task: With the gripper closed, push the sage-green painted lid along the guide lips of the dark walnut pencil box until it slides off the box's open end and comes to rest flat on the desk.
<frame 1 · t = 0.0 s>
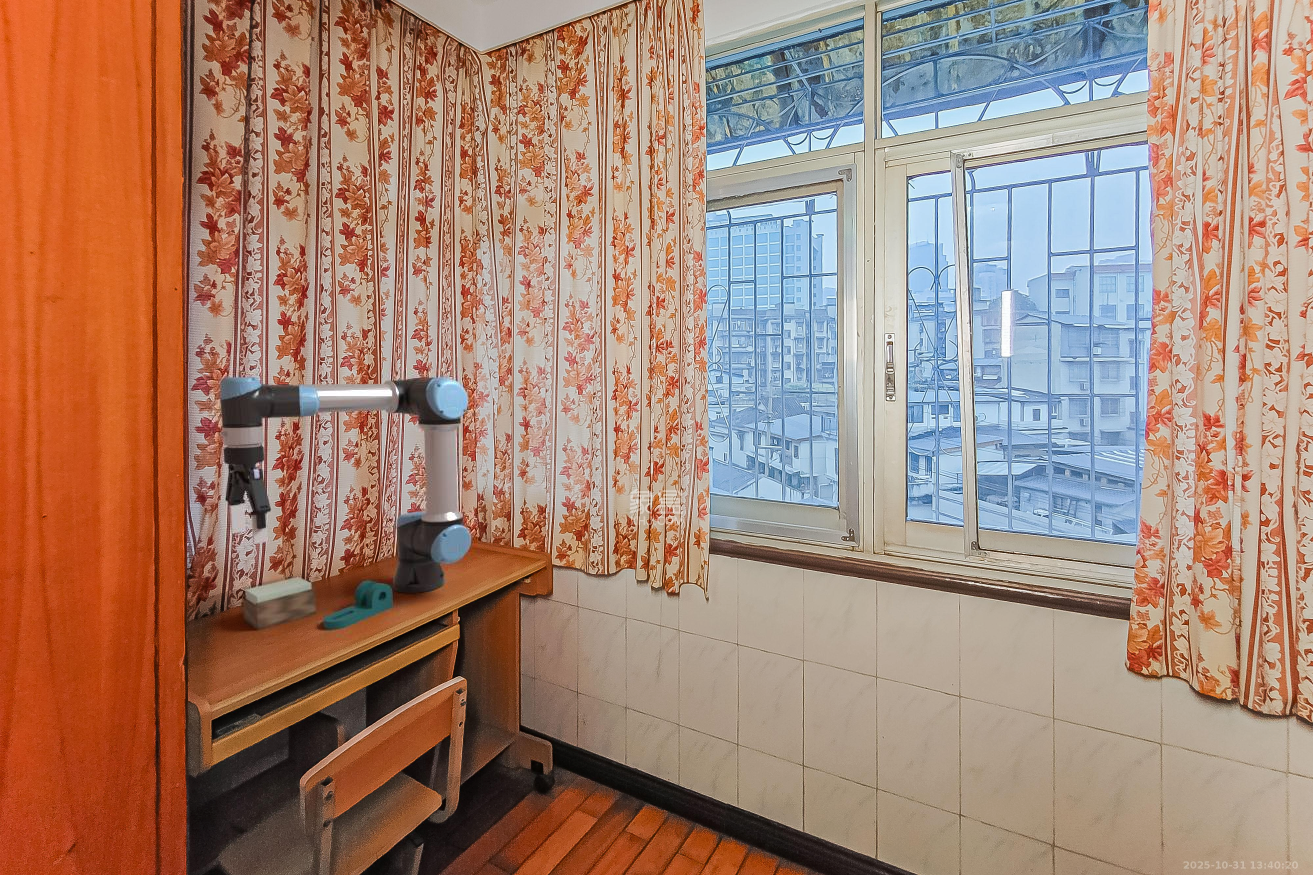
hand: (249, 537, 138), 28 cm above the table, fingers open, 13 cm apart
box: (280, 616, 162), on the table
lid: (279, 595, 161), point 6 cm above the table, touching box
bracket: (356, 618, 163), on the table
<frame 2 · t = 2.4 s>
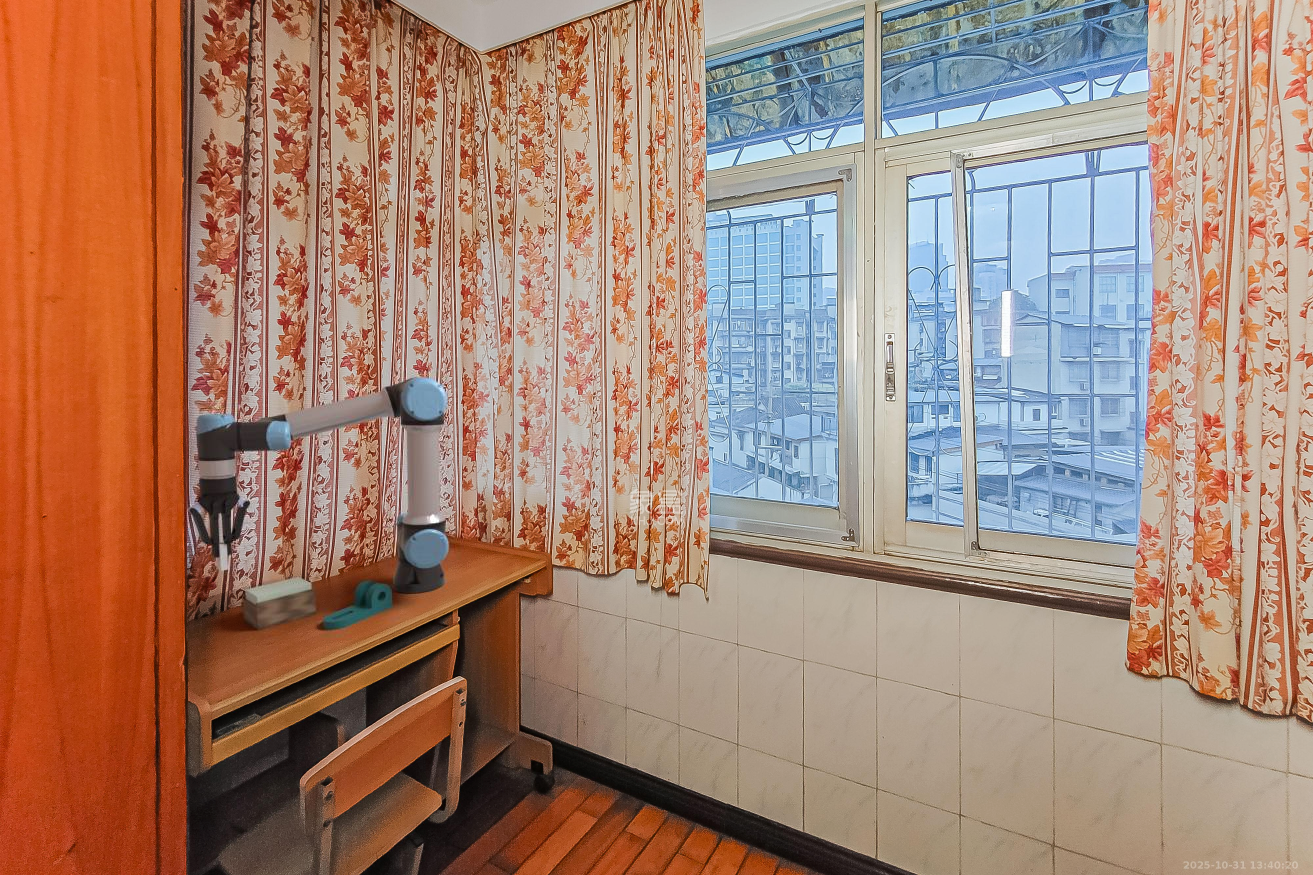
hand: (222, 568, 151), 16 cm above the table, fingers closed
nothing on the table moved.
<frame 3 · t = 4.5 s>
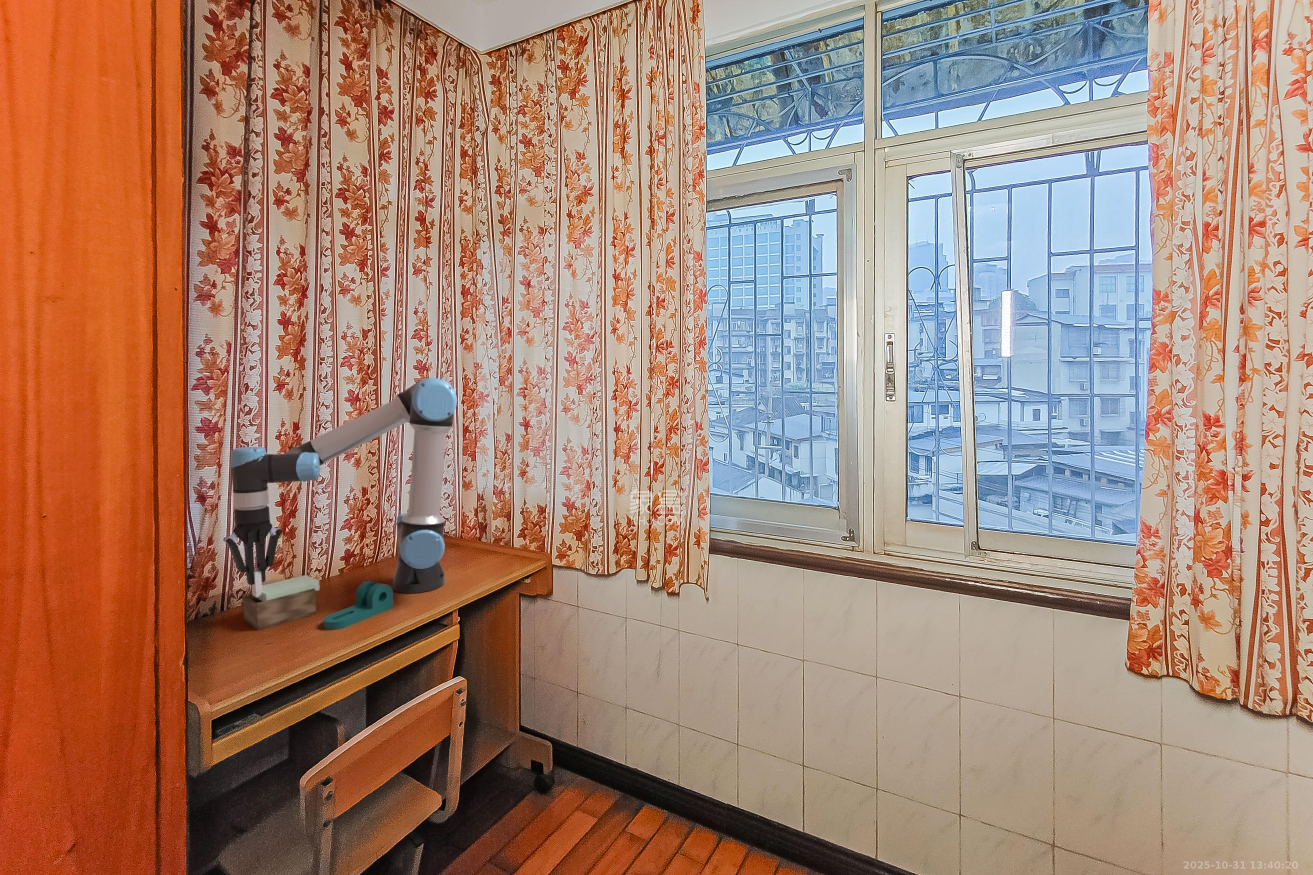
hand: (257, 595, 157), 8 cm above the table, fingers closed
lid: (287, 593, 163), point 6 cm above the table, touching box
everything else where it was.
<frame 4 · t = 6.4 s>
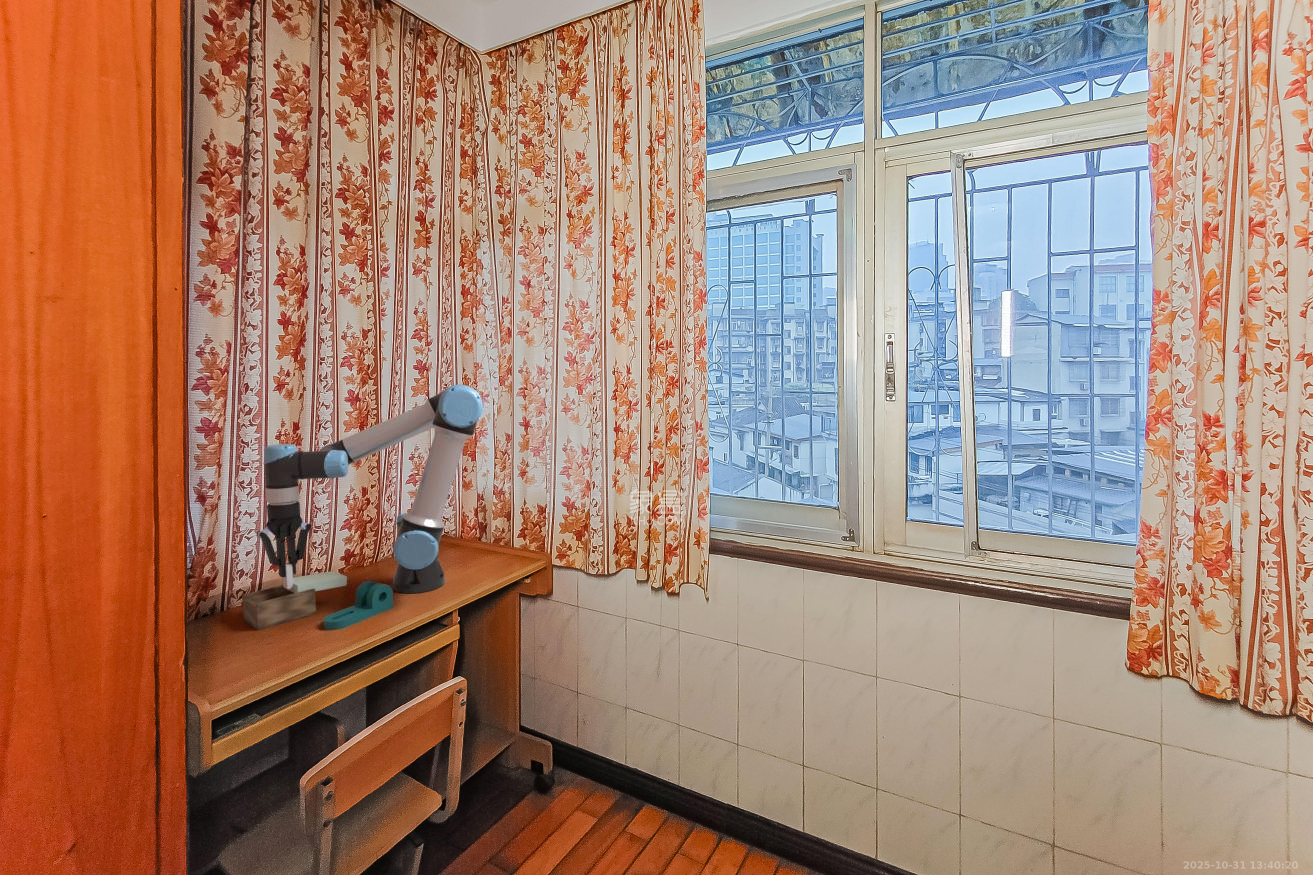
hand: (288, 587, 163), 8 cm above the table, fingers closed
lid: (316, 586, 169), point 6 cm above the table, touching box
everything else where it was.
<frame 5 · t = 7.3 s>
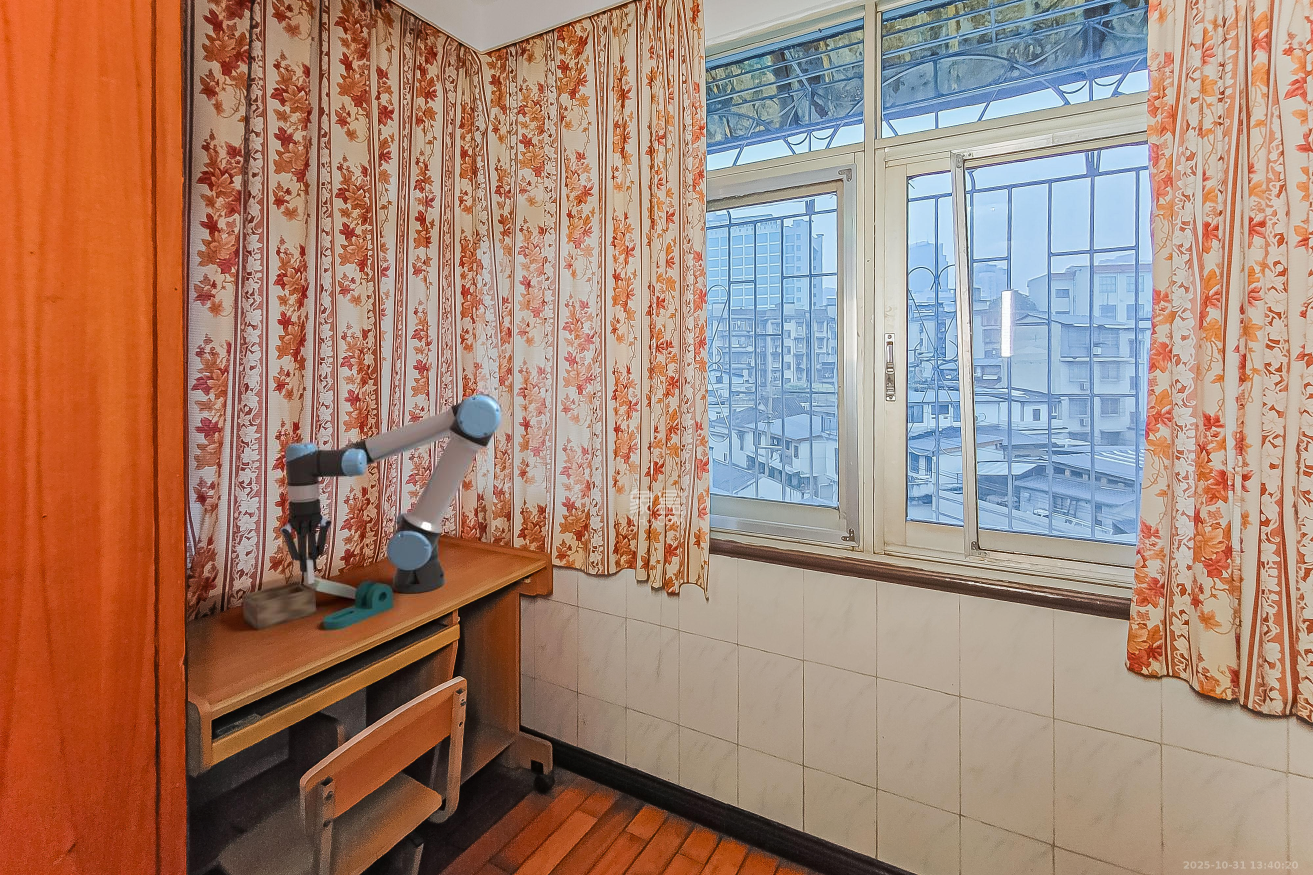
hand: (309, 582, 167), 8 cm above the table, fingers closed
lid: (331, 591, 172), point 3 cm above the table, tilted 28°, touching gripper
everything else where it was.
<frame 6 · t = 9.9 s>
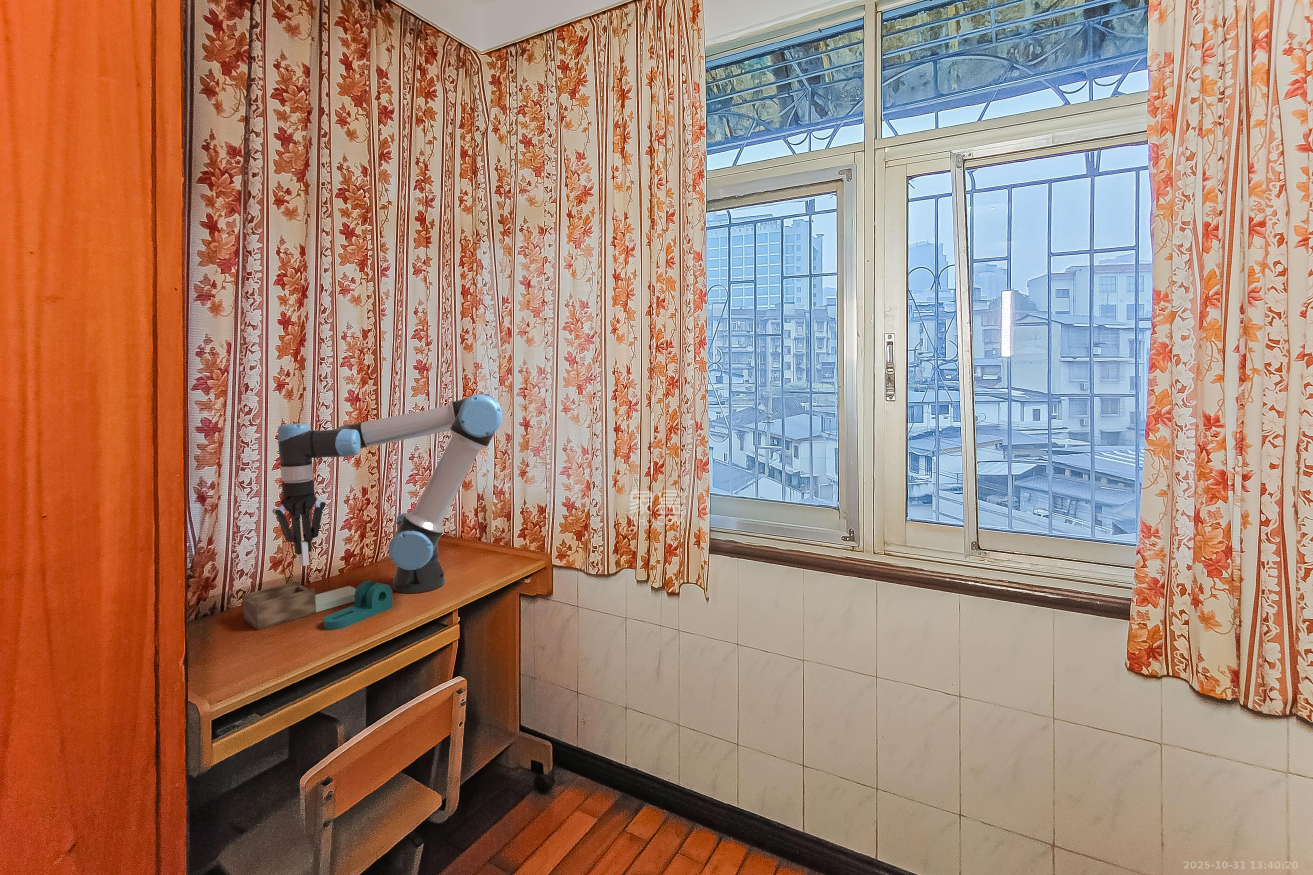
hand: (304, 564, 165), 13 cm above the table, fingers closed
lid: (333, 603, 173), on the table
everything else where it was.
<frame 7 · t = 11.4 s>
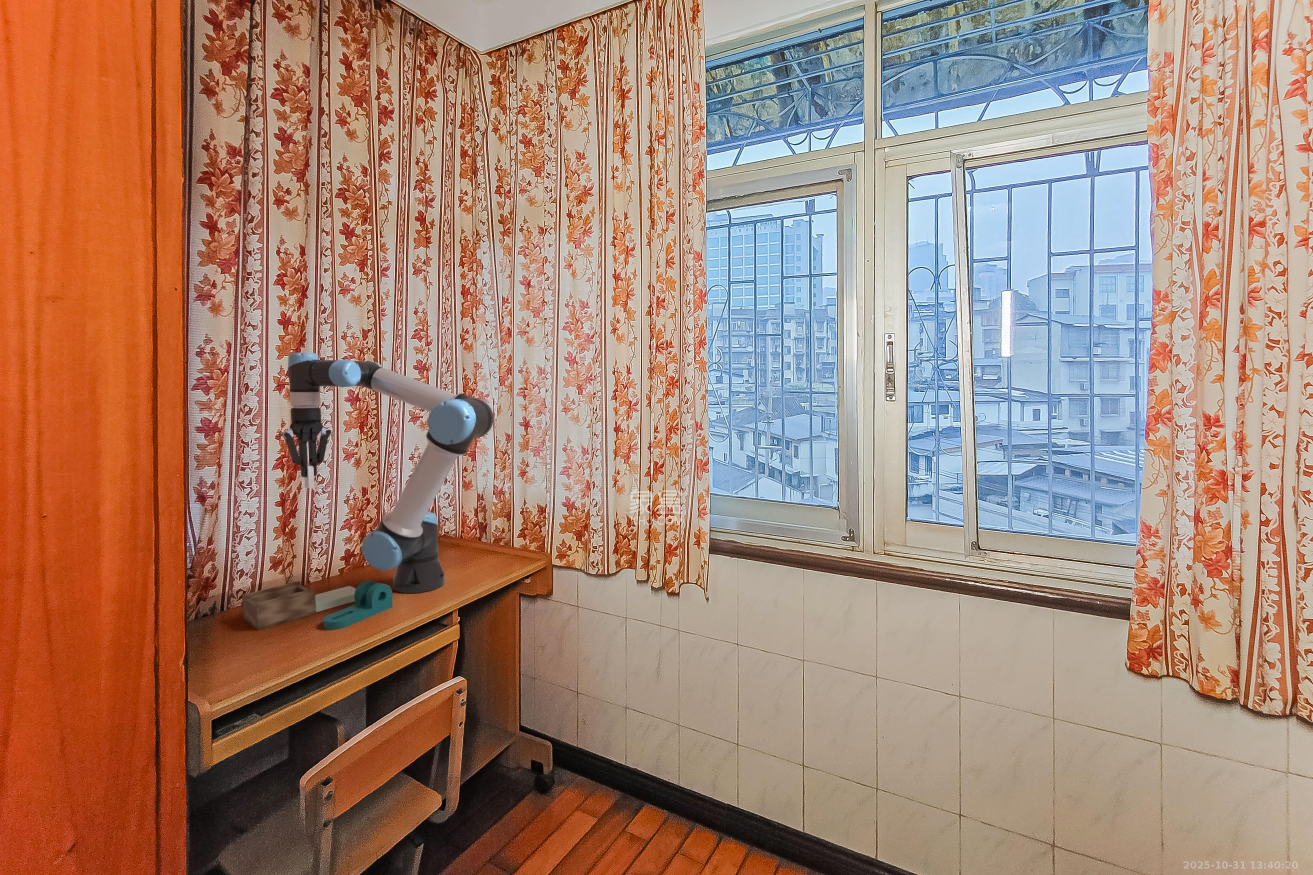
hand: (309, 487, 175), 32 cm above the table, fingers closed
nothing on the table moved.
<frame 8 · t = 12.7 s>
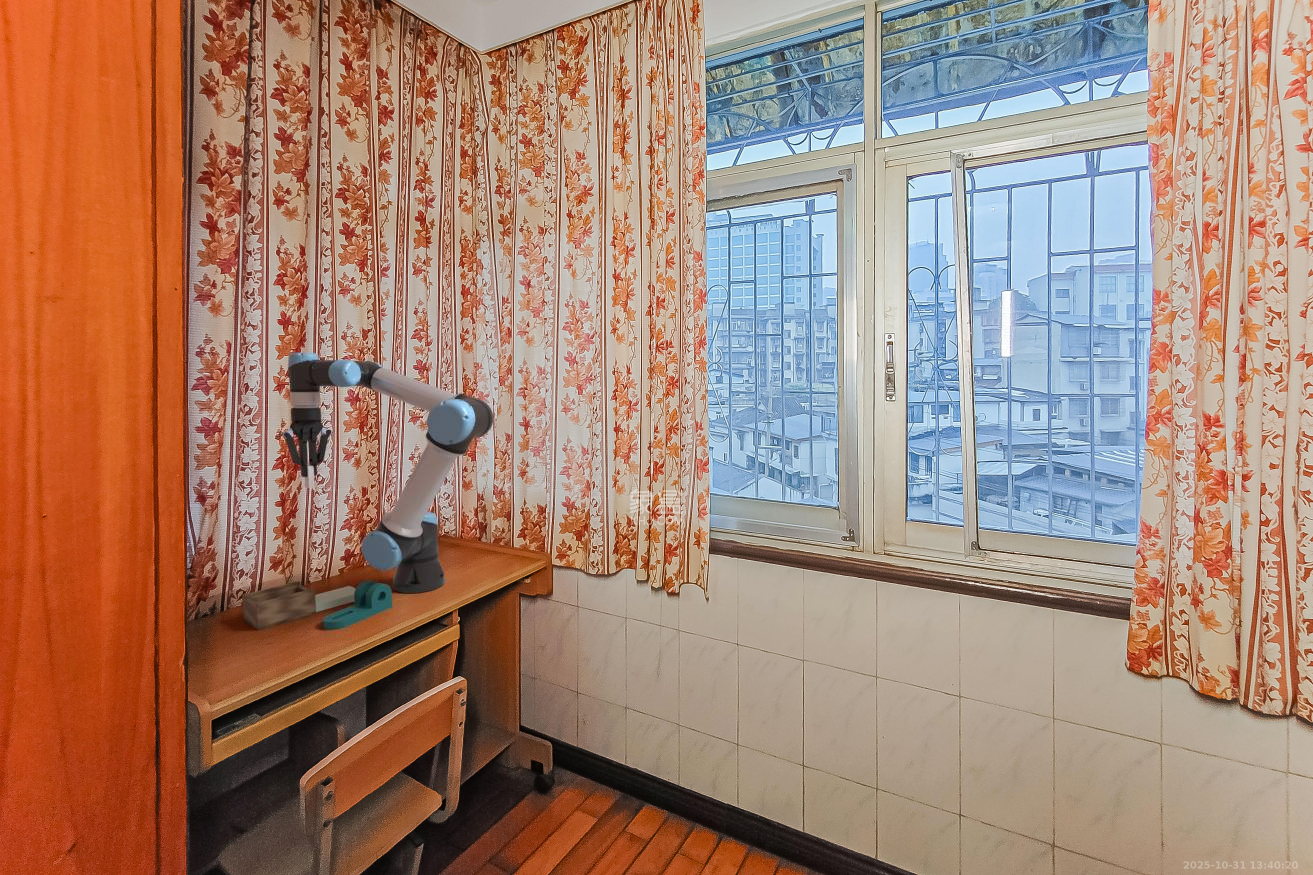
hand: (309, 487, 175), 32 cm above the table, fingers closed
nothing on the table moved.
at the end: lid inside the target area (2.5 cm from its centre), on the table; lid touching table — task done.
